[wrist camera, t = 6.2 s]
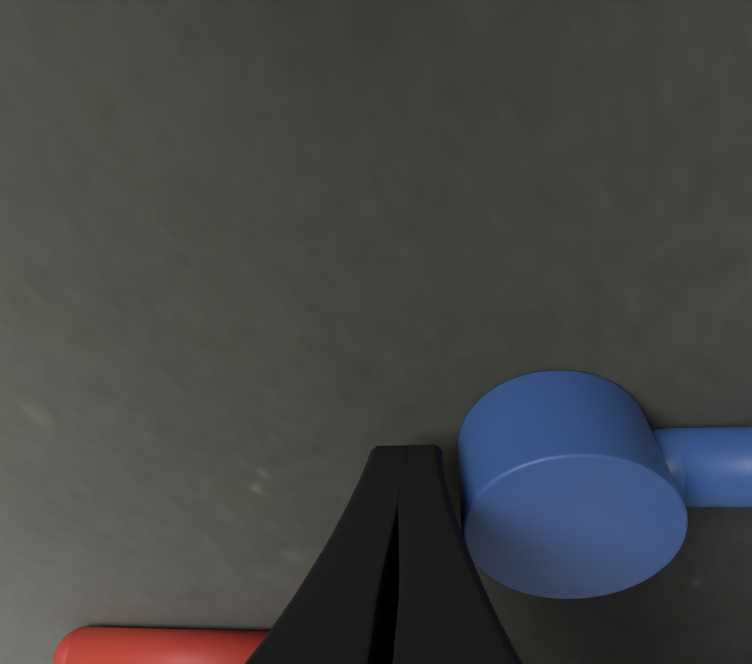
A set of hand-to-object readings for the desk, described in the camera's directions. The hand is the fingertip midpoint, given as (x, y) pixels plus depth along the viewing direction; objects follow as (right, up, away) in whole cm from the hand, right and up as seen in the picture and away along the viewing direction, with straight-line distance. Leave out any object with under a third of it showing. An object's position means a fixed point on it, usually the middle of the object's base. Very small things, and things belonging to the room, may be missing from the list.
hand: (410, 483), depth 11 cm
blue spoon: (+6, +1, 0) cm, 6 cm away
